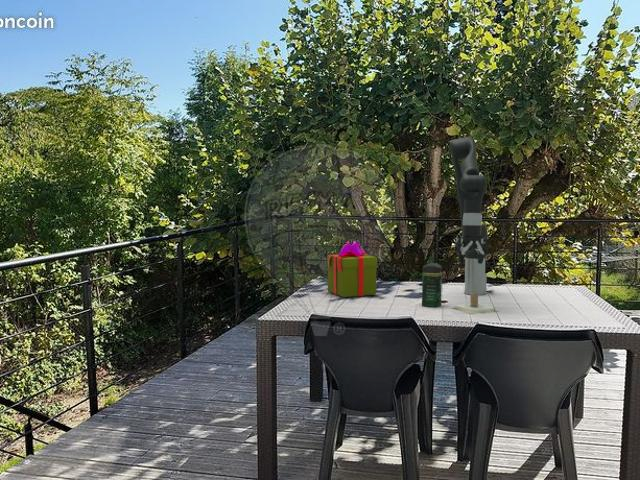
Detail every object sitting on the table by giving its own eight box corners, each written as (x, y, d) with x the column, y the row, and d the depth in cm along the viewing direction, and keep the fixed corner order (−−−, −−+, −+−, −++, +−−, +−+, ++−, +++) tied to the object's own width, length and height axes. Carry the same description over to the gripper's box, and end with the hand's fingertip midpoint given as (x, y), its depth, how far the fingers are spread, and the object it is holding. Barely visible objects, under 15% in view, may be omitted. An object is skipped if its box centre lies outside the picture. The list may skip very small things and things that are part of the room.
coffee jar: (439, 309, 237) (440, 265, 235) (420, 308, 239) (420, 264, 238) (442, 305, 246) (443, 262, 244) (424, 304, 248) (424, 261, 247)
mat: (476, 307, 242) (476, 305, 242) (499, 313, 230) (499, 311, 230) (449, 309, 237) (449, 307, 237) (471, 316, 224) (471, 314, 224)
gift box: (321, 293, 276) (321, 241, 274) (354, 289, 288) (354, 239, 286) (348, 299, 259) (348, 244, 257) (382, 294, 272) (382, 242, 270)
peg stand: (475, 306, 240) (476, 291, 240) (494, 310, 231) (494, 295, 230) (454, 308, 236) (454, 293, 235) (472, 313, 226) (472, 297, 225)
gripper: (481, 224, 240) (480, 262, 241) (451, 223, 236) (450, 263, 236) (492, 224, 233) (491, 264, 234) (461, 224, 228) (460, 264, 229)
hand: (470, 263), depth 235 cm, fingers open, 8 cm apart
